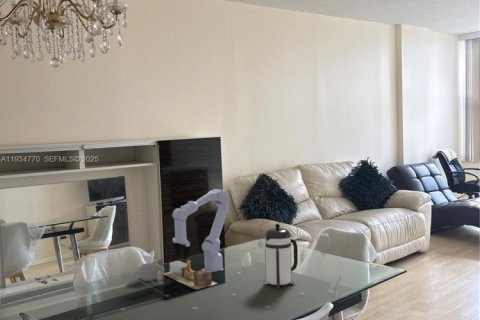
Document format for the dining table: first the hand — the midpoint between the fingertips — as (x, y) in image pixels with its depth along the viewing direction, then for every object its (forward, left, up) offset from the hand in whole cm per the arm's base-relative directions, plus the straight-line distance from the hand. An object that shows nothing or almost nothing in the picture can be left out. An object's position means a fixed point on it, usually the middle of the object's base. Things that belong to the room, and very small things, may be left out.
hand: (181, 257), depth 249 cm
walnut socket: (0, +19, -10) cm, 21 cm away
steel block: (0, -3, -10) cm, 10 cm away
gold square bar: (0, +1, -8) cm, 8 cm away
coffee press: (-30, +42, -11) cm, 53 cm away
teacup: (+15, -6, -11) cm, 19 cm away
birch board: (0, +6, -10) cm, 12 cm away
